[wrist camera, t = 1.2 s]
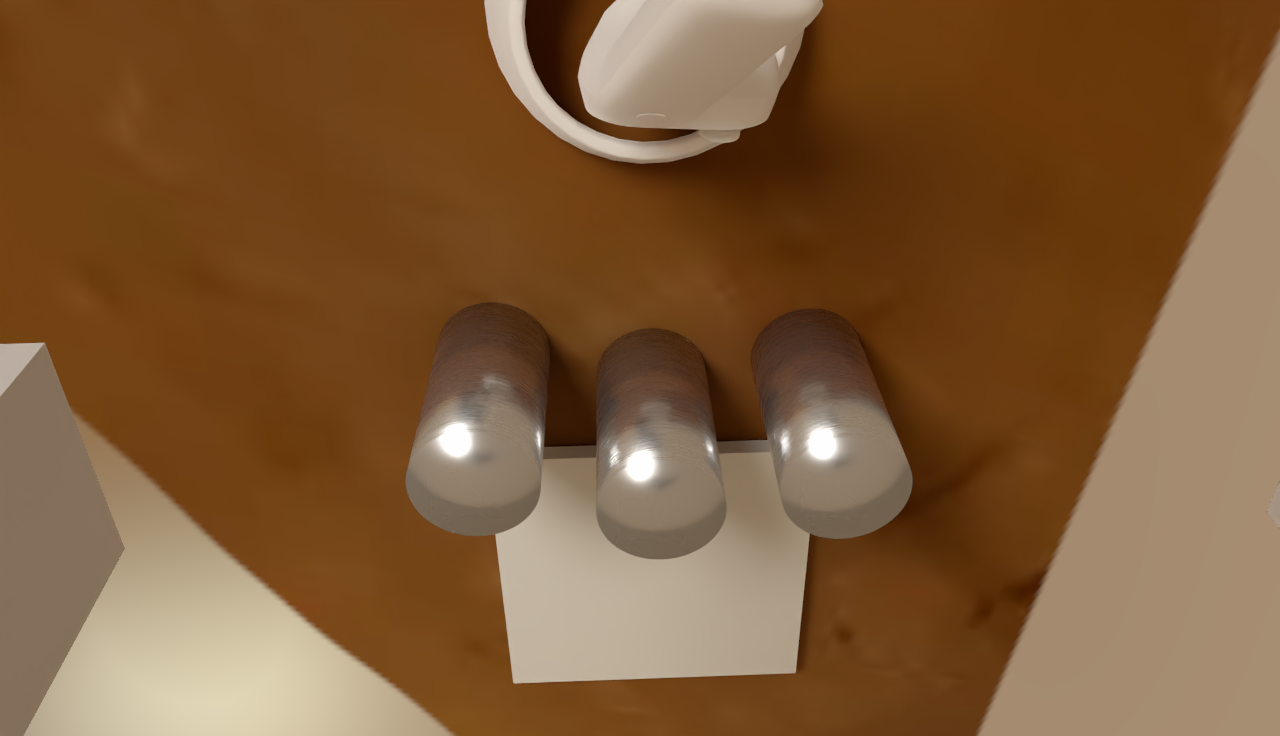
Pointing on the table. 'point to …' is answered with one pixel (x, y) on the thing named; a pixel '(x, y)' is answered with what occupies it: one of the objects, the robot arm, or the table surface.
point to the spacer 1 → (482, 423)
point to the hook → (664, 70)
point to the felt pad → (652, 583)
